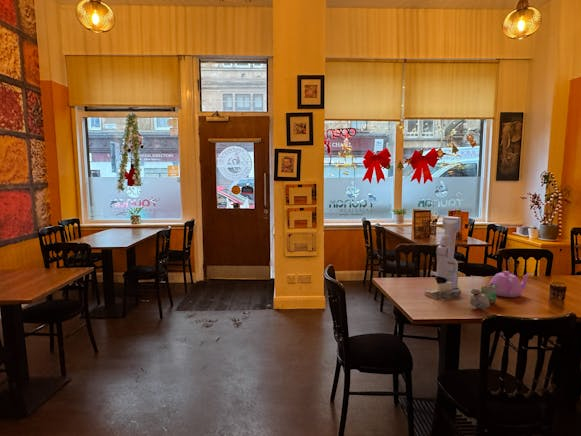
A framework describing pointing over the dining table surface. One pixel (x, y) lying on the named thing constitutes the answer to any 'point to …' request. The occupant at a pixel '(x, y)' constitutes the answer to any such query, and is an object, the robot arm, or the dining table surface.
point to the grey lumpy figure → (479, 299)
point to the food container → (490, 292)
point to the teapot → (509, 284)
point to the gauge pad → (444, 287)
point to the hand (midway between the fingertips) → (440, 289)
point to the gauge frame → (444, 294)
